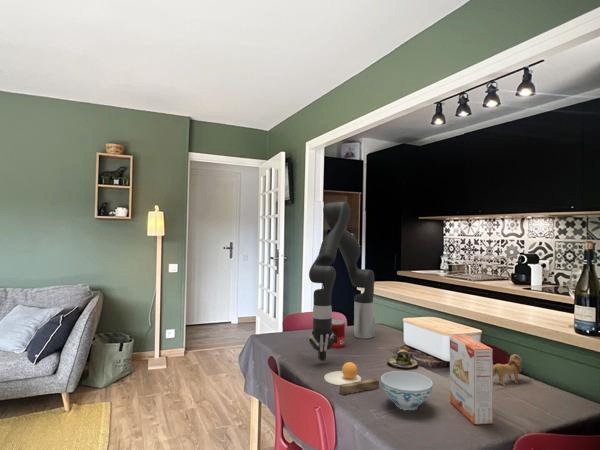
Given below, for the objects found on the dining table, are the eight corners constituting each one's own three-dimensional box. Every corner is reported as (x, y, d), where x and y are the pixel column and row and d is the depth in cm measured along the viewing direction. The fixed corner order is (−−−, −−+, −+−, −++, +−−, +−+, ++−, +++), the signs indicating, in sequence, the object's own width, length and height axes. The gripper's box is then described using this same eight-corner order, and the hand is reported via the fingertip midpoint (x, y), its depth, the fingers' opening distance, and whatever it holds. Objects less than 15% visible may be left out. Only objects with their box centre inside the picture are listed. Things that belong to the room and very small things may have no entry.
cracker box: (448, 402, 118) (448, 334, 118) (467, 401, 119) (467, 334, 119) (472, 425, 104) (472, 348, 104) (494, 424, 105) (494, 347, 105)
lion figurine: (512, 376, 140) (512, 351, 140) (526, 381, 135) (526, 356, 135) (484, 383, 133) (484, 357, 133) (498, 389, 128) (498, 362, 128)
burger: (382, 366, 150) (382, 347, 150) (394, 358, 159) (394, 340, 160) (412, 373, 143) (412, 353, 143) (422, 364, 152) (422, 345, 152)
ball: (350, 368, 141) (353, 357, 139) (359, 380, 137) (362, 368, 135) (337, 372, 139) (340, 360, 137) (345, 384, 134) (349, 372, 132)
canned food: (344, 343, 179) (344, 319, 179) (344, 348, 171) (344, 323, 171) (328, 342, 180) (328, 319, 180) (327, 347, 172) (327, 323, 172)
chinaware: (375, 395, 123) (375, 371, 123) (420, 394, 124) (420, 370, 124) (389, 418, 108) (389, 391, 108) (441, 417, 109) (441, 389, 109)
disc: (348, 369, 145) (348, 369, 145) (368, 382, 133) (368, 381, 133) (318, 374, 140) (318, 374, 140) (335, 388, 128) (335, 387, 128)
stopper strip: (375, 385, 130) (375, 378, 130) (378, 388, 129) (378, 380, 129) (339, 392, 125) (339, 384, 125) (342, 395, 123) (342, 387, 123)
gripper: (332, 312, 158) (332, 355, 157) (303, 315, 152) (302, 359, 152) (341, 316, 151) (341, 360, 151) (311, 319, 145) (311, 365, 145)
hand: (322, 360), depth 151 cm, fingers closed
